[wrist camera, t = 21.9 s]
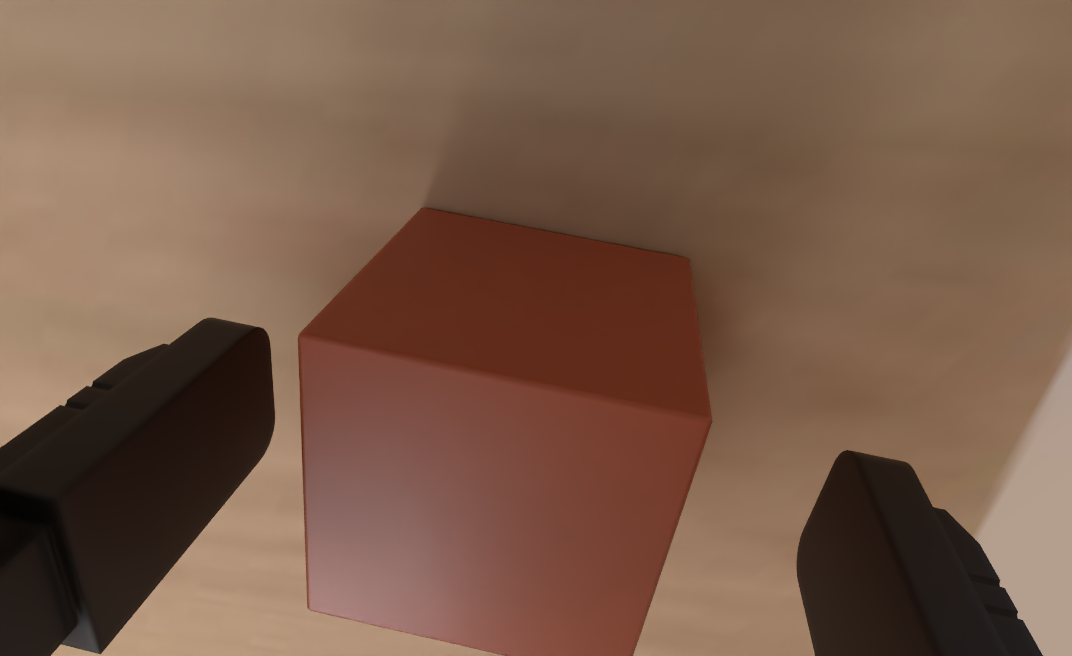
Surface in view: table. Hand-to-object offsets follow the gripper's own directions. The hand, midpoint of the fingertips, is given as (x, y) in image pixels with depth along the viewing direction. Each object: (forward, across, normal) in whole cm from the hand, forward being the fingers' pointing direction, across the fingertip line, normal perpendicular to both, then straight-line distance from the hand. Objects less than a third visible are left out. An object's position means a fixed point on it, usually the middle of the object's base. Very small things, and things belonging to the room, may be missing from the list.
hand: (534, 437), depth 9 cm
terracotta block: (+3, 0, 0) cm, 3 cm away
